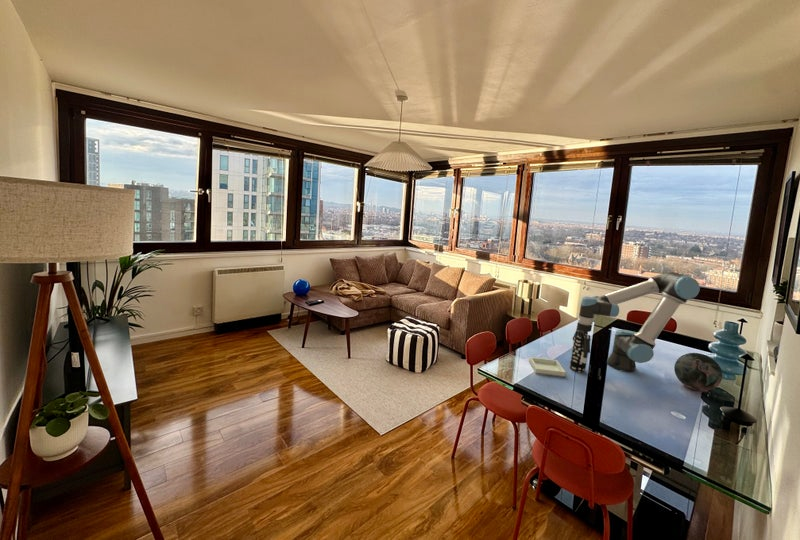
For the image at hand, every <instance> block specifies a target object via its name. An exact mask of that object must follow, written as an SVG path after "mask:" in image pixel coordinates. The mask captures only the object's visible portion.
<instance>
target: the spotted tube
mask: <svg viewBox="0 0 800 540" xmlns="http://www.w3.org/2000/svg"><path fill="white" fill-rule="evenodd" d="M572 344H573V345H572V348H571V349H572V351H571V357H570V361H569V368H568V369H570V370H571V371H573V372H576V373H585V372H586V366H587V363H588V362H587V361H588V357H589V353H588V354H587V359H586V363H581V362H580V361H581V355H582V351H583V345H582V339H581V337H580V336H578V335H575V337H574V342H572Z"/></svg>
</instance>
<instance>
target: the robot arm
mask: <svg viewBox="0 0 800 540" xmlns="http://www.w3.org/2000/svg"><path fill="white" fill-rule="evenodd" d="M700 289H701V287H700V283H699V281H698V280H697V279H696V278H694V277H692V276H689V275H688V274H687V275H685V274H682V273H678V272H676V271H674V272H671V271H669V272H665V273H661V274H657V275H655V276H652V277H651V276H650V277H648V280H644V281H642V282H640V283H639V282H638V283H635V284H633V285H631V286H627V287H625V288H621V289H618V290H615V291H612V292H609V293H606V294H604V295H600V296H598V295H593V296H583V297H582V299H581V302H580V306H579V314H578V317H577V322H576V323H577V325H576V330H575V332H574V334H573V337H572V340H573V341H572V343H574V337H575V335H578V336H580V337H581V339H582V345H583V351H582V355H581V361H580V362H581V363H586V364H587V362H586V359H587V360H588V357H587V354H588V355H589V354H590V353H591V335H590V334H589V333H590V332H591V331H592V327H593V323H594V319H595V318H594V317H595V316H603V317H611V318H616V317H618V316H619V313H620V307H619V305H618V304H622V303H625V302H626V303H627V302H628V301H633V300H636V299H638V298H641V297H644V296H648V295H651V294H653V293H654V294H660V293H661V294H662V296H661V298H660V300H659V302H658V303H657V304H656V305H655V306H654V308H653V310H652V312H651V313H650V314H649V316H648V317H647V319H646V320H645V322H644V323H643V324H642V326H641V328H640V329H639V330H638V331H637V332H636V331H632V330H628V329H617V330H616V331H615V334H614V339H613V345H612V351H611V353H610V354H609V356H608V357H607V359H606V365H608V366H609V367H611V368H612V369H615V370H617V371H622V372H626V373H632V372H636V370H637V369H636V368H637V366H636V363H639V364H643V363H648V362H649V361H650V360H652V359H653V358H654V350H653V349H654V348H655V347H656V342H655V341H656V340H657V338H658V337H659V335H660V334H661V332H662V331H663V330H664V329H665V327H666V325H667V324H668V322H669V321H670V319H671V318H672V317H673V316H674V315H675V313H676V311H677V310H678V308H679V307H680V306H681V305H684V304H686V303H687V301H688V300H690V299H694V298H696V297H697V296H698V294H699V293H700Z"/></svg>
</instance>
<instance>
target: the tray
mask: <svg viewBox="0 0 800 540" xmlns="http://www.w3.org/2000/svg"><path fill="white" fill-rule="evenodd" d="M528 362H529V365H530V366H531V368H532V369H533V371H534V373H535V374H536V375H543V374H546V375H545V376H551V375H554V376H553V377H559V376H562V378H566V373H567V372H566V370H565V369H564V368H563V366H562V365H561V363H560V362H559V360H557V359H552V358H551V359H550V358H542V357H532V356H529V359H528Z"/></svg>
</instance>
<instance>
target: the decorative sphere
mask: <svg viewBox="0 0 800 540" xmlns="http://www.w3.org/2000/svg"><path fill="white" fill-rule="evenodd" d="M673 369H674V373H675V376H676V378H677V379H678V381H679V382H680V383H681V384H682V385H683V386H685V387H687V388H688V389H691V390H695V391H697V392H698V391H699V392H703V391H704V392H705V391H706V392H707V391H710V390H711V391H712V390H713V389H716V388H717V387H718V386H719V385H721V382H722V381H723V371H722V368H721V366H720V365H719V363H718V362H717V361H716V360H715V359H713V357H710V356H709V355H707V354H705V353H704V354H703V353H701V352H700V353H699V352H688V353H685V354H682V355H681V356H680V357H678V358H677V359H676V361H675V363H674V368H673Z"/></svg>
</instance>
